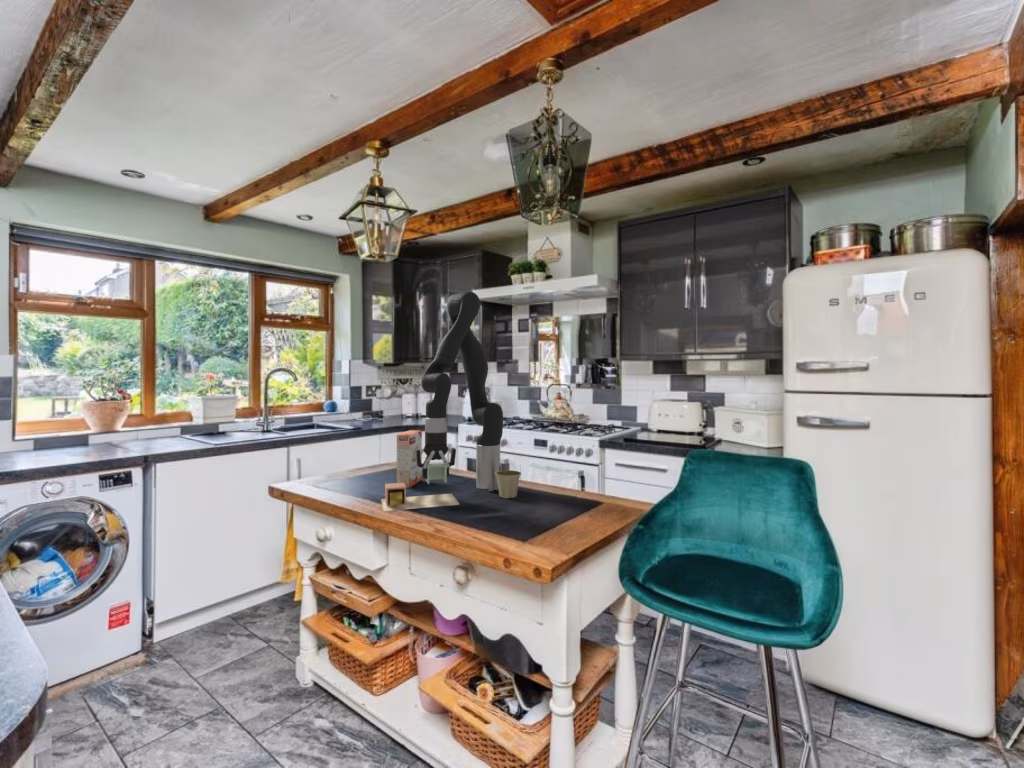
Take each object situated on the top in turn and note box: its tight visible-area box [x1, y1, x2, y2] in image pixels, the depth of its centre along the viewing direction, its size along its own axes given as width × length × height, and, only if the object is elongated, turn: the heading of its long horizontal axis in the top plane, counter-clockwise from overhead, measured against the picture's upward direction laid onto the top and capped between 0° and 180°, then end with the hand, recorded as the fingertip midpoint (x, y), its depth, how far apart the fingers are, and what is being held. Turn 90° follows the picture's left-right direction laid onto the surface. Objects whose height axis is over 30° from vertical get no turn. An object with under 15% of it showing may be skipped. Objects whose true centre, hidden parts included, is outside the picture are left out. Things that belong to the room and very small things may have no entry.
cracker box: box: [396, 429, 423, 489], centre depth 205 cm, size 14×6×21 cm, turn 171°
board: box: [380, 493, 460, 512], centre depth 177 cm, size 25×15×1 cm, turn 107°
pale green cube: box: [424, 461, 448, 485], centre depth 179 cm, size 6×6×6 cm
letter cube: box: [389, 490, 402, 505], centre depth 175 cm, size 4×4×4 cm
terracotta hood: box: [384, 482, 407, 506], centre depth 175 cm, size 6×6×6 cm
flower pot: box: [495, 469, 522, 499], centre depth 187 cm, size 9×9×9 cm
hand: (435, 478), depth 179 cm, fingers closed on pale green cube, 6 cm apart
